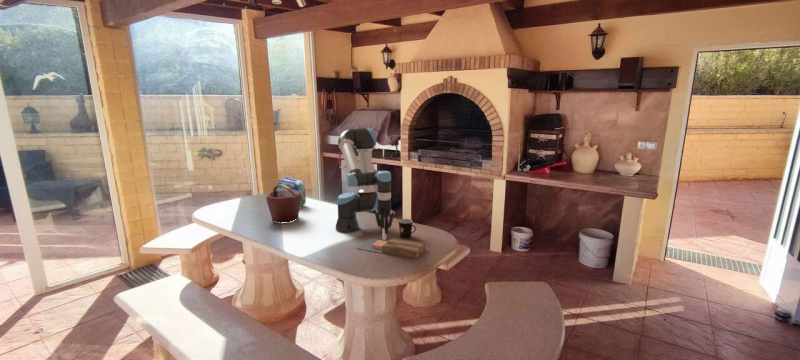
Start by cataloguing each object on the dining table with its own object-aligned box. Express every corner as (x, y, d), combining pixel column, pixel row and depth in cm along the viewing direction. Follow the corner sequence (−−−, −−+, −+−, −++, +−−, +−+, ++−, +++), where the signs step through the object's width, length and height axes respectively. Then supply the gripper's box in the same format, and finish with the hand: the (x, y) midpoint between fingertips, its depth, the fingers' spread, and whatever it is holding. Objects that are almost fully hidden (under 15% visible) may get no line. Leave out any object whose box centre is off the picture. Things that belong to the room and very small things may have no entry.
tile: (377, 243, 225) (377, 239, 224) (390, 245, 222) (390, 241, 221) (371, 248, 218) (371, 244, 217) (384, 250, 215) (384, 246, 214)
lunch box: (276, 203, 308) (274, 177, 303) (287, 200, 316) (285, 175, 311) (295, 209, 292) (294, 182, 287) (307, 206, 300) (306, 179, 295)
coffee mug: (396, 235, 239) (396, 219, 236) (408, 233, 242) (409, 218, 240) (403, 241, 228) (403, 225, 226) (416, 239, 231) (417, 223, 229)
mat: (369, 239, 232) (369, 238, 232) (393, 243, 226) (393, 242, 225) (356, 248, 218) (356, 248, 218) (381, 253, 211) (381, 252, 211)
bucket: (306, 221, 263) (304, 186, 258) (273, 227, 251) (271, 190, 245) (294, 212, 283) (292, 179, 277) (263, 218, 271) (260, 183, 265)
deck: (392, 243, 225) (392, 237, 224) (424, 249, 217) (425, 243, 216) (382, 252, 212) (382, 246, 211) (415, 259, 204) (415, 252, 203)
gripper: (370, 199, 212) (371, 239, 217) (391, 201, 207) (392, 242, 212) (377, 195, 219) (377, 234, 224) (397, 198, 214) (397, 238, 219)
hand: (384, 238), depth 218 cm, fingers closed
